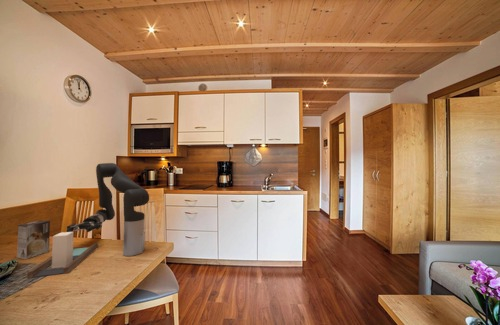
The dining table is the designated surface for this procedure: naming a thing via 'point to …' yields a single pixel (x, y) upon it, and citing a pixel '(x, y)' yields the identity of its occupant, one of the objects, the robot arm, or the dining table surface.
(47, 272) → the grey base plate
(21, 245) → the coffee box
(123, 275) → the dining table surface
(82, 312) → the dining table surface
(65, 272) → the frame
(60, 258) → the cream block
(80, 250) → the pad
